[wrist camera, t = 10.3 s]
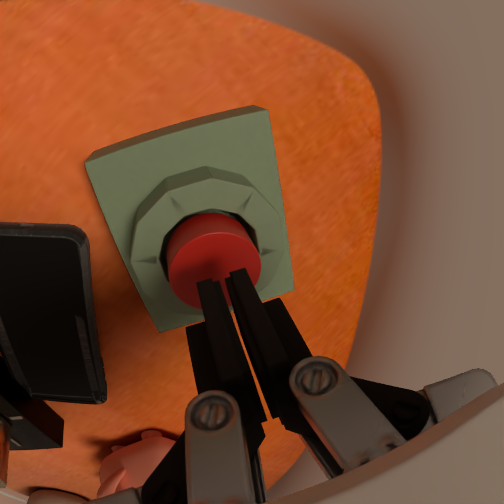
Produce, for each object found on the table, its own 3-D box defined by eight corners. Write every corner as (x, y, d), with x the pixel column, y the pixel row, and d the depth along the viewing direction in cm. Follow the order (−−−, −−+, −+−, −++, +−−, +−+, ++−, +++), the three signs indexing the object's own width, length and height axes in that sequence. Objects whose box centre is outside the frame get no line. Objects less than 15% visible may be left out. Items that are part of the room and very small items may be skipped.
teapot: (196, 470, 33) (215, 539, 25) (102, 469, 29) (110, 543, 20) (221, 415, 27) (251, 512, 19) (91, 412, 23) (95, 519, 14)
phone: (21, 397, 19) (-37, 227, 12) (23, 386, 20) (-28, 218, 13) (110, 405, 21) (88, 232, 15) (110, 393, 22) (91, 222, 15)
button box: (92, 151, 13) (74, 175, 10) (253, 104, 14) (284, 114, 11) (157, 308, 19) (161, 357, 16) (281, 269, 20) (307, 310, 17)
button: (154, 227, 12) (155, 249, 11) (241, 201, 13) (253, 219, 12) (180, 295, 14) (185, 320, 13) (255, 271, 15) (267, 294, 14)
